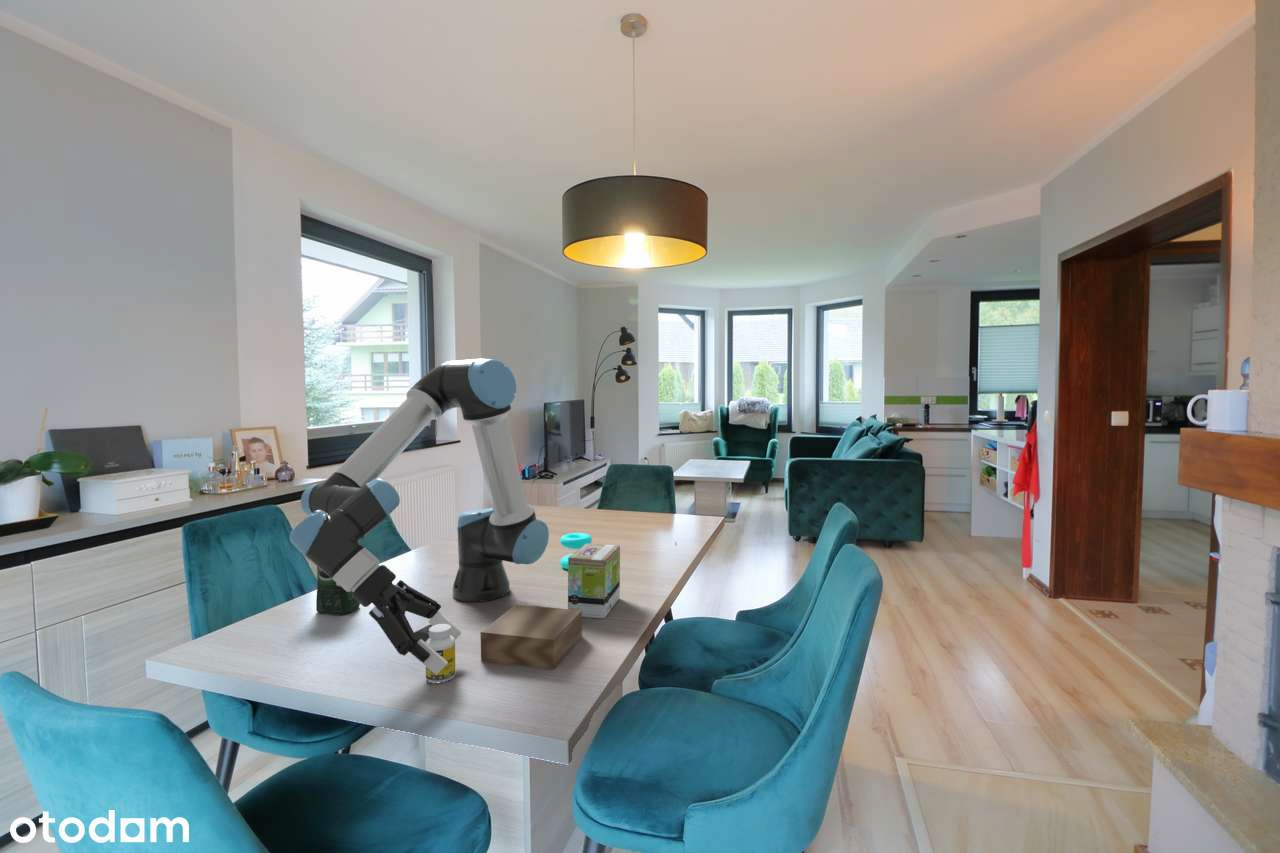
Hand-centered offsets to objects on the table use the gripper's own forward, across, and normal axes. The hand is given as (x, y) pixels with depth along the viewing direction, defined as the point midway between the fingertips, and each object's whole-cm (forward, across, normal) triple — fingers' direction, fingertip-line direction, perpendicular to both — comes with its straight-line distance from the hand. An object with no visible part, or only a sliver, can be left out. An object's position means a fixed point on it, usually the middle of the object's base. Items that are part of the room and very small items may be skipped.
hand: (450, 652), depth 110 cm
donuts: (+21, -69, +14) cm, 74 cm away
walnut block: (+14, -11, +7) cm, 19 cm away
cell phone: (-3, -19, -11) cm, 22 cm away
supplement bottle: (+2, 0, -5) cm, 6 cm away
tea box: (+24, -33, +17) cm, 44 cm away
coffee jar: (-22, -40, -29) cm, 54 cm away
